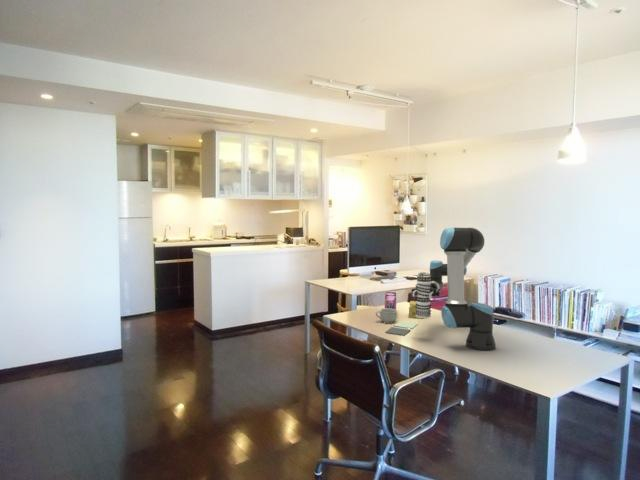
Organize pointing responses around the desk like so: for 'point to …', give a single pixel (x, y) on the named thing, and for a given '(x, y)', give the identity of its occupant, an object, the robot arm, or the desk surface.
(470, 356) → the desk surface
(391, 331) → the charcoal mat
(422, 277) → the decorative candle
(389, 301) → the gum box
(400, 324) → the sage mat
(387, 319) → the teacup
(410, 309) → the cheese
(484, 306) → the robot arm
